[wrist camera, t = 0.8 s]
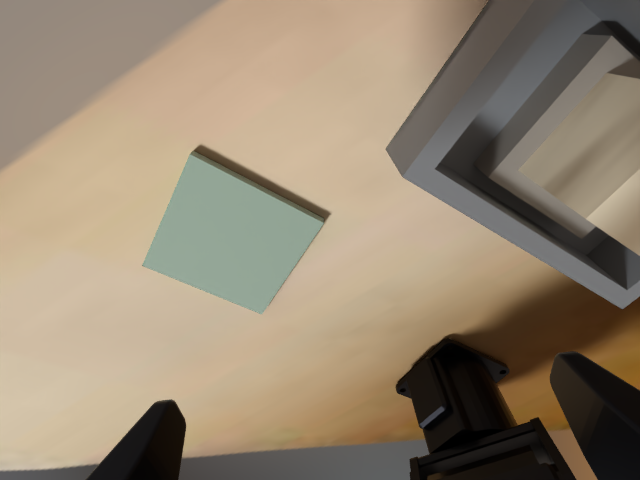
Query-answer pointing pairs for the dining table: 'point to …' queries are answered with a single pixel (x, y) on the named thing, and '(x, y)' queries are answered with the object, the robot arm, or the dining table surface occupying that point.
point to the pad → (230, 235)
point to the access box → (523, 128)
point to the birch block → (597, 159)
